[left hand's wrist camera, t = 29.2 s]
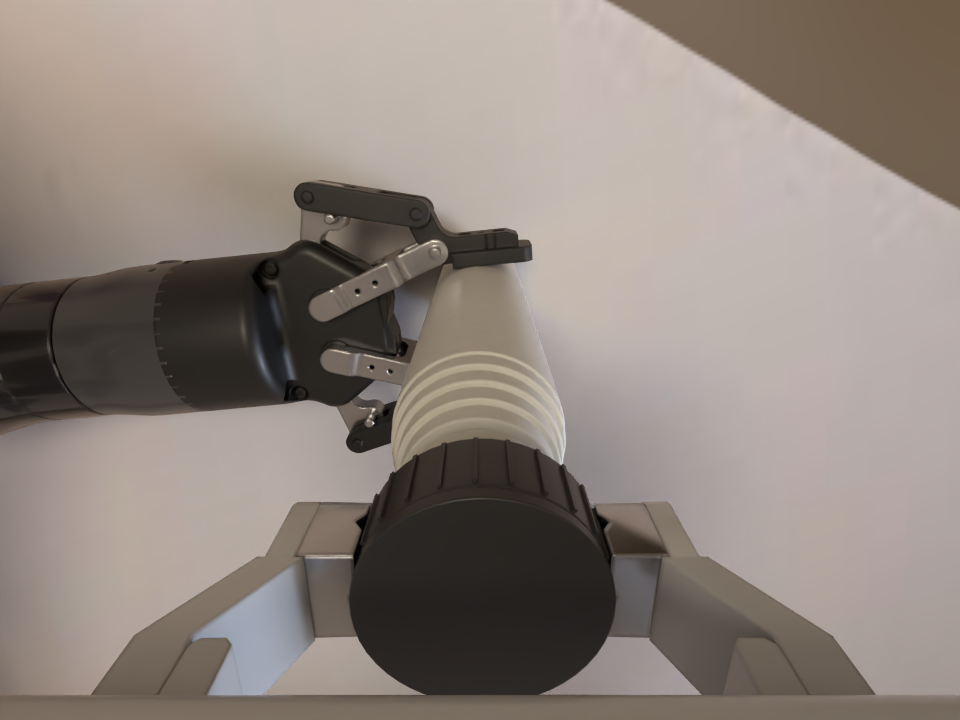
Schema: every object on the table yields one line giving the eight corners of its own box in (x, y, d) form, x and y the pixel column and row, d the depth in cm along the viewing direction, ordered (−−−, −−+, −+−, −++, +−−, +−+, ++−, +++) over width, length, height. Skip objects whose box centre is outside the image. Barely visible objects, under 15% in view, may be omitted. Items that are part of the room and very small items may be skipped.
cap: (643, 510, 10) (677, 582, 9) (508, 652, 12) (513, 740, 10) (448, 390, 9) (442, 443, 8) (326, 559, 11) (296, 637, 9)
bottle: (425, 295, 32) (304, 604, 10) (465, 227, 31) (428, 409, 9) (492, 334, 33) (516, 698, 11) (534, 269, 32) (661, 534, 9)
